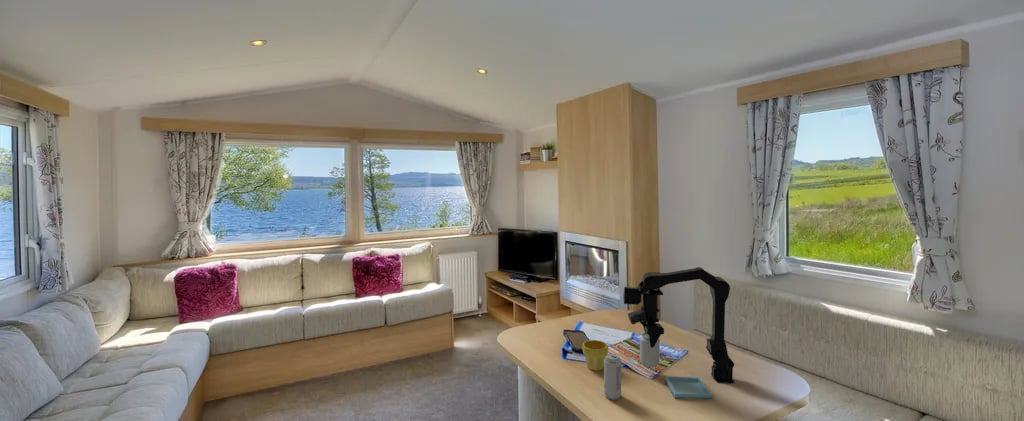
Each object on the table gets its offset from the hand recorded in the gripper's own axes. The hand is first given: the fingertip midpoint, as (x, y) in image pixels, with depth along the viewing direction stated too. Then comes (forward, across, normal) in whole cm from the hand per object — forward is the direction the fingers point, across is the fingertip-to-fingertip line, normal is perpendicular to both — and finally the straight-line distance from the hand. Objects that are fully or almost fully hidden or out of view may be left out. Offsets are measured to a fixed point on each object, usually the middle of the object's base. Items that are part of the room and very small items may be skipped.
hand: (649, 343), depth 170 cm
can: (+9, 0, 0) cm, 9 cm away
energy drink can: (+13, +18, -17) cm, 28 cm away
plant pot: (+13, -5, -21) cm, 25 cm away
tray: (+13, +12, +11) cm, 21 cm away
